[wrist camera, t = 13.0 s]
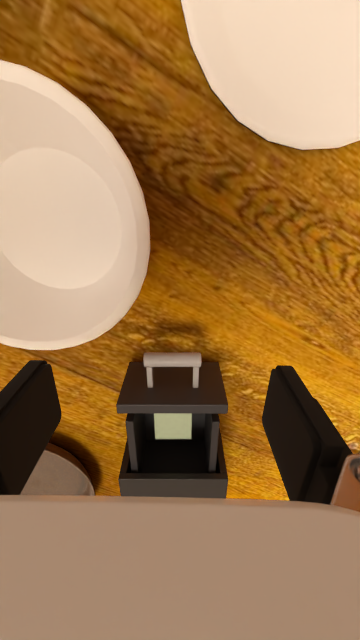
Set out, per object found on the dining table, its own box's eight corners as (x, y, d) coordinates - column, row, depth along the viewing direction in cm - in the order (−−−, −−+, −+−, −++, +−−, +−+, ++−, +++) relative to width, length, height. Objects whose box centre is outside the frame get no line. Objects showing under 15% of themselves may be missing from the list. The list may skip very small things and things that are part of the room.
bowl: (21, 334, 33) (-24, 373, 26) (-95, 144, 25) (-212, 122, 18) (182, 289, 31) (182, 319, 23) (113, 61, 22) (79, -7, 15)
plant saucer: (45, 522, 50) (36, 543, 47) (-53, 464, 44) (-70, 483, 41) (125, 479, 45) (121, 499, 42) (28, 404, 38) (15, 422, 35)
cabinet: (132, 416, 39) (118, 479, 30) (217, 416, 39) (228, 479, 30) (138, 481, 45) (128, 548, 36) (212, 481, 45) (220, 549, 36)
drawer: (126, 332, 32) (111, 370, 25) (220, 332, 32) (231, 370, 25) (136, 437, 40) (127, 489, 33) (213, 437, 40) (220, 490, 33)
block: (156, 386, 34) (153, 411, 30) (190, 386, 34) (192, 411, 30) (157, 412, 36) (155, 439, 32) (190, 412, 36) (191, 439, 32)
